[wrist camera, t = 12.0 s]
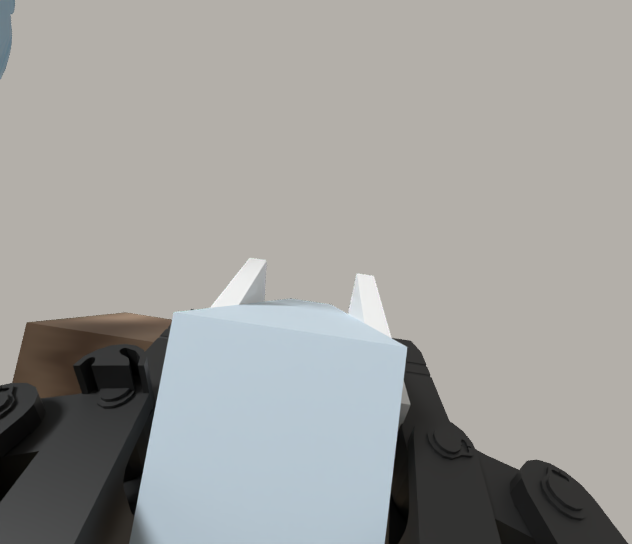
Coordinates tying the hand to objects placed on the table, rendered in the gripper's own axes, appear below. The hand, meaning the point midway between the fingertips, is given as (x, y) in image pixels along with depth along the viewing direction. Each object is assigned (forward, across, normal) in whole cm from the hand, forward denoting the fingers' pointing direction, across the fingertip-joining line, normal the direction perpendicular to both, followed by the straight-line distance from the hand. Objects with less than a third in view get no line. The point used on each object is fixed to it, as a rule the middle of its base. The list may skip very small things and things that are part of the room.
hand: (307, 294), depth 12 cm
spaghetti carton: (+1, 0, -6) cm, 6 cm away
